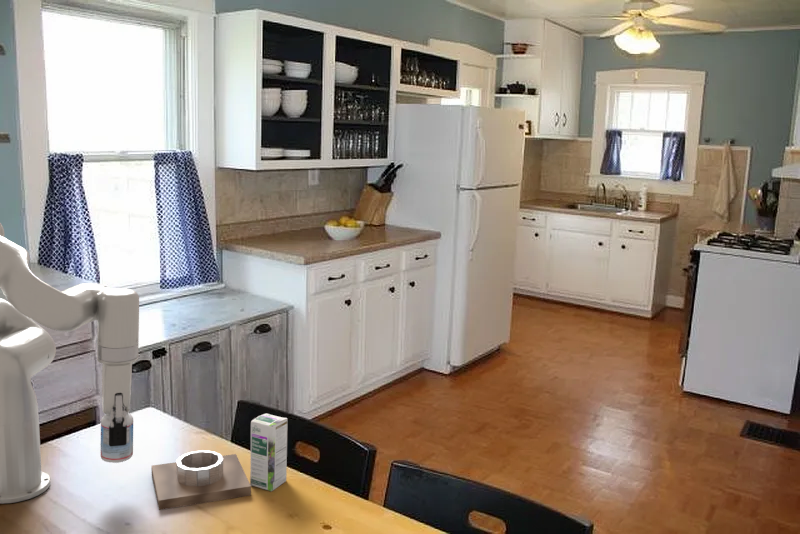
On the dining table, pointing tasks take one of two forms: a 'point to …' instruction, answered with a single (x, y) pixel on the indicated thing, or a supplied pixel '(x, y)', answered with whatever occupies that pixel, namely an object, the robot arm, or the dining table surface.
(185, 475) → the bottle ring
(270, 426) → the syrup box
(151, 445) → the dining table surface
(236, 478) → the holder board
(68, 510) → the dining table surface
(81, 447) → the dining table surface
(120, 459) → the pill bottle
